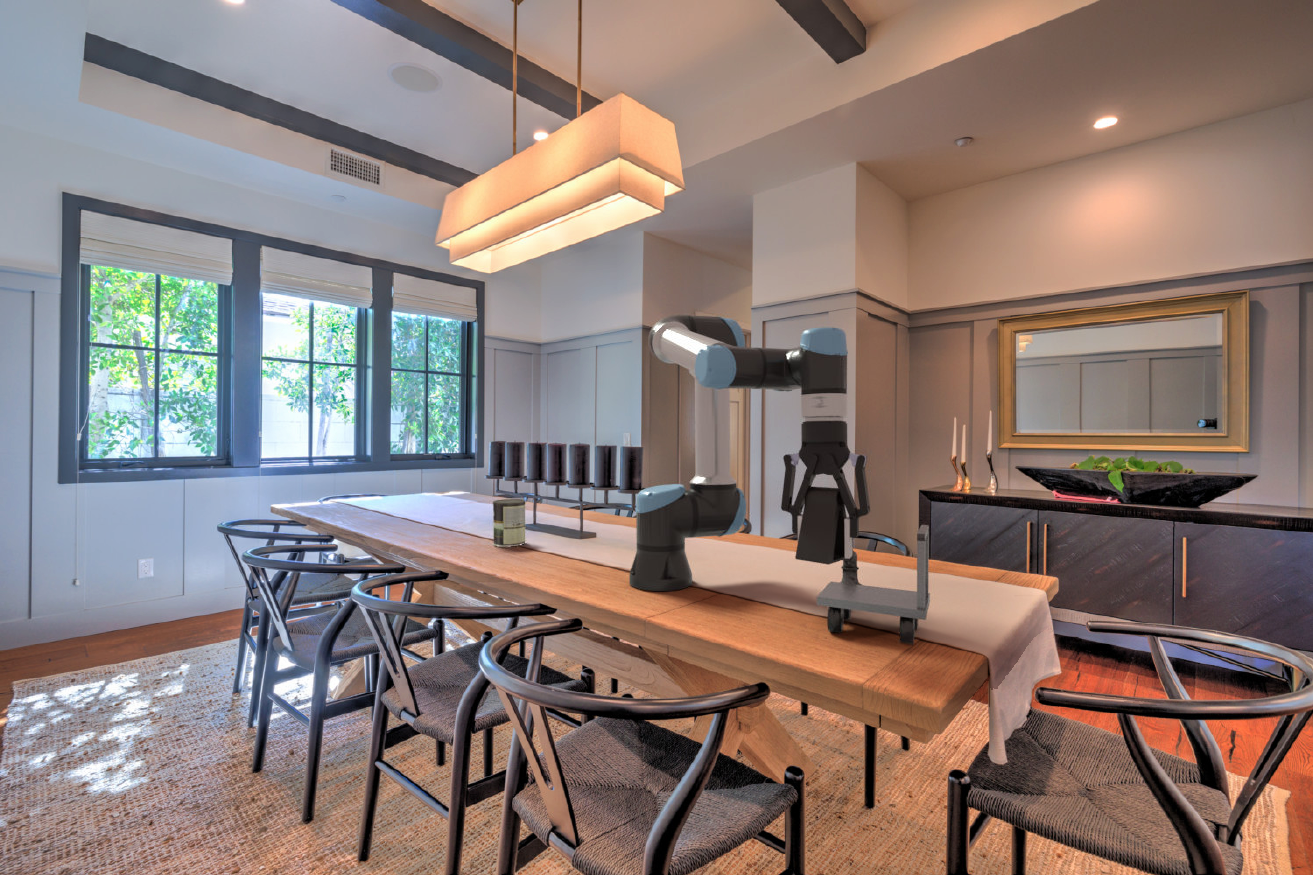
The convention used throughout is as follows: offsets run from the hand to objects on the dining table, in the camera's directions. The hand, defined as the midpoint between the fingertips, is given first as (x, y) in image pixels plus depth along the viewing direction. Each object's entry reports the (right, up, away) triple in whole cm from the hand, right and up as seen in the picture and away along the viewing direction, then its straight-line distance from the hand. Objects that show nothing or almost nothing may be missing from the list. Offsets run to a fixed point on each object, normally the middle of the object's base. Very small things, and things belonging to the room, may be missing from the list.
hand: (824, 554), depth 99 cm
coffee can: (-76, -15, +90) cm, 119 cm away
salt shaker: (+13, -15, +25) cm, 32 cm away
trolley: (+11, -15, +8) cm, 21 cm away
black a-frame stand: (0, -1, 0) cm, 1 cm away
